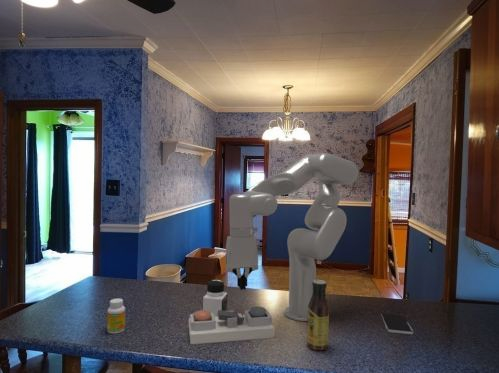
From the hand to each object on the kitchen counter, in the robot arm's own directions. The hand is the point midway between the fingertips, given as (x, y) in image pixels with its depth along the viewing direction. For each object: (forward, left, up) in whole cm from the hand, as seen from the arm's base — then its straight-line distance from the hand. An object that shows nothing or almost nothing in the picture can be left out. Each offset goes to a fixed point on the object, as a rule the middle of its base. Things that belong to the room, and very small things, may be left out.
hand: (242, 288), depth 116 cm
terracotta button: (+13, 0, -10) cm, 16 cm away
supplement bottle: (+40, -8, -14) cm, 43 cm away
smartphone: (-54, +3, -15) cm, 56 cm away
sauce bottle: (-20, +14, -14) cm, 29 cm away
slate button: (-5, 0, -10) cm, 11 cm away
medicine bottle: (+7, -16, -14) cm, 22 cm away
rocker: (+4, 0, -9) cm, 10 cm away
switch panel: (+4, 0, -14) cm, 15 cm away
